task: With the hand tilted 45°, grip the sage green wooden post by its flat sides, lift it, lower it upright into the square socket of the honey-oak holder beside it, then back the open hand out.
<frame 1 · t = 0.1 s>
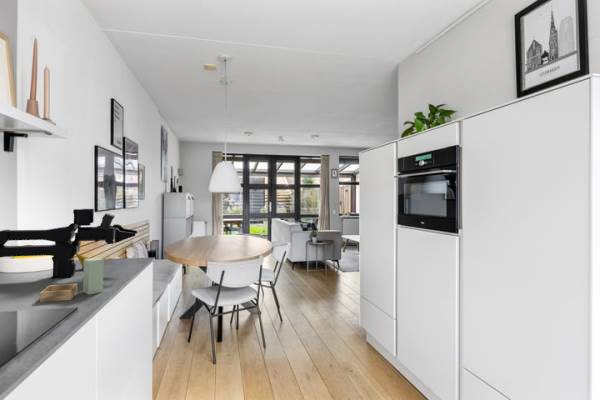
hand: (136, 233, 137), 17 cm above the worktop, fingers open, 9 cm apart
post: (93, 291, 108), on the worktop
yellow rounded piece: (85, 269, 140), on the worktop
holder: (59, 297, 102), on the worktop
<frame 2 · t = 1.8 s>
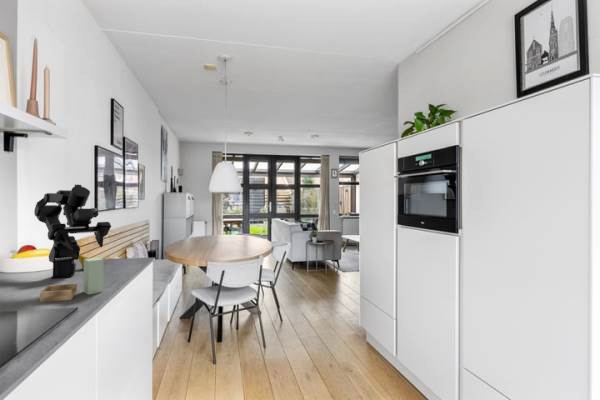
hand: (87, 247, 114), 14 cm above the worktop, fingers open, 9 cm apart
nothing on the worktop moved.
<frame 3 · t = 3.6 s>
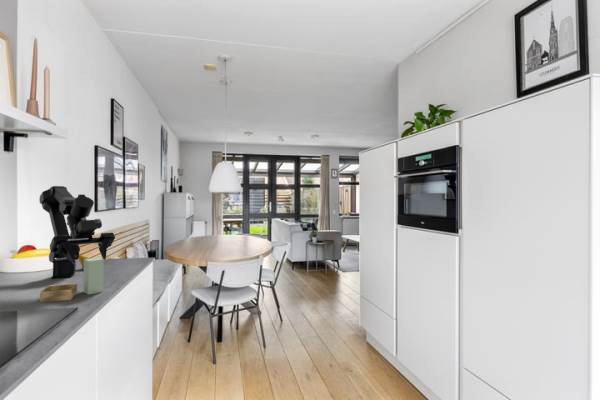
hand: (90, 260, 110), 10 cm above the worktop, fingers open, 9 cm apart
nothing on the worktop moved.
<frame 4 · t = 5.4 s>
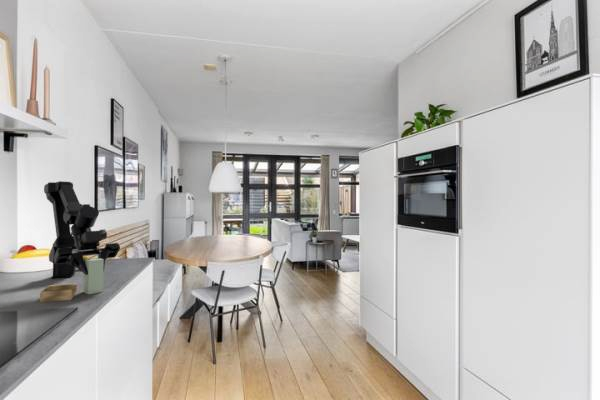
hand: (95, 272, 107), 7 cm above the worktop, fingers closed on post, 4 cm apart
post: (93, 291, 108), on the worktop, touching gripper
everything else where it was.
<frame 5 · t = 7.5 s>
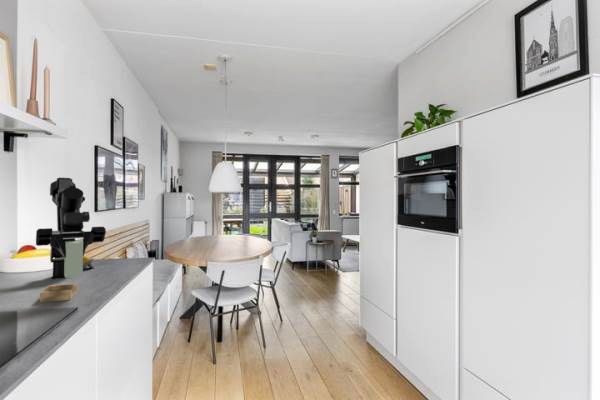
hand: (74, 256, 103), 13 cm above the worktop, fingers closed on post, 4 cm apart
post: (73, 275, 104), point 6 cm above the worktop, touching gripper
everything else where it was.
when the fingers open (7 cm above the worktop, at t = 9.9 s): post stays where it is, resting in holder.
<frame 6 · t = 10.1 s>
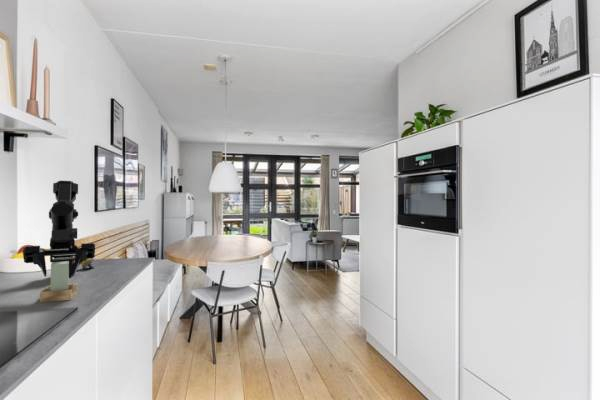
hand: (59, 274, 100), 8 cm above the worktop, fingers open, 7 cm apart
post: (59, 297, 102), resting in holder
everything else where it was.
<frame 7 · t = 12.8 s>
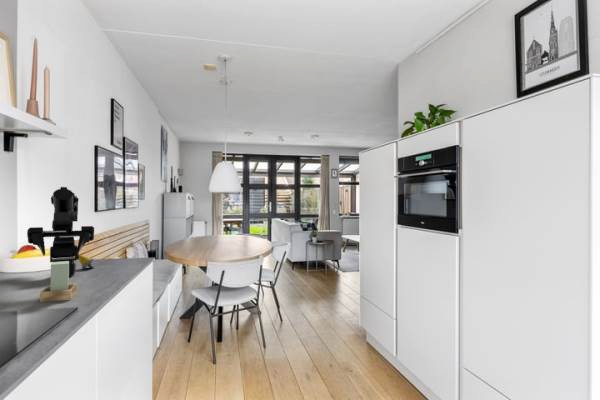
hand: (61, 253, 108), 13 cm above the worktop, fingers open, 9 cm apart
nothing on the worktop moved.
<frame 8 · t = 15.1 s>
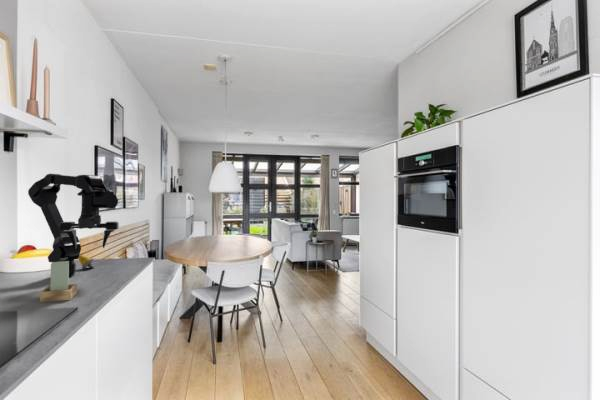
hand: (89, 248, 123), 12 cm above the worktop, fingers open, 9 cm apart
nothing on the worktop moved.
at the end: post 0.1 cm off-centre on the holder, point 0.0 cm above the holder's base; post tilted 0°; the gripper is holding nothing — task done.
